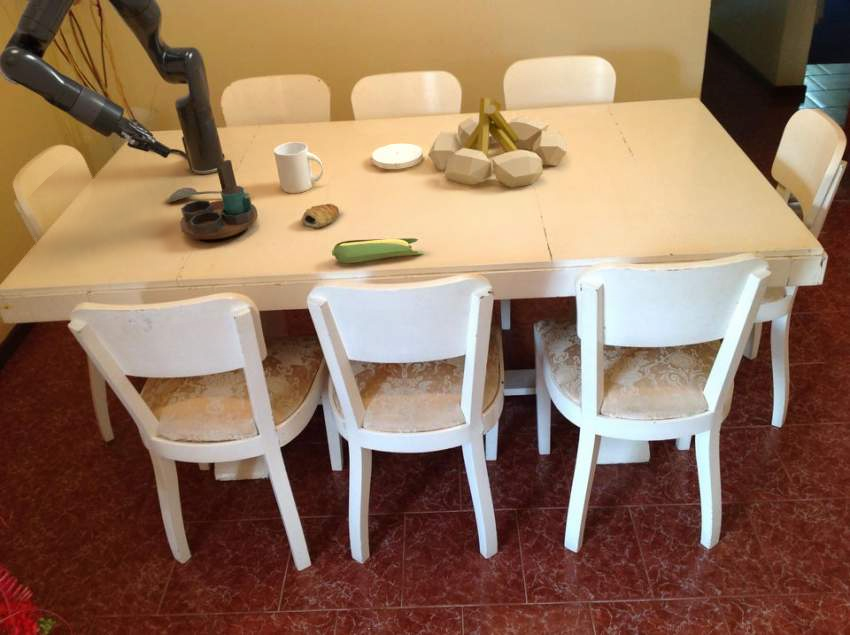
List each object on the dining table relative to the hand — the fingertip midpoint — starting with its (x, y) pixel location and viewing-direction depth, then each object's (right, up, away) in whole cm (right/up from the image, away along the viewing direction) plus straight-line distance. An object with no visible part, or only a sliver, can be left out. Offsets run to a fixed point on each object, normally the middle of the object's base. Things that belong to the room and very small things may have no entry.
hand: (168, 153), depth 169 cm
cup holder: (+11, -15, +6) cm, 19 cm away
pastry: (+34, -15, +7) cm, 38 cm away
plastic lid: (+52, +5, +33) cm, 62 cm away
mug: (+27, -4, +24) cm, 36 cm away
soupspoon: (+2, +25, -3) cm, 25 cm away
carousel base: (+11, -17, +7) cm, 21 cm away
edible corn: (+50, -25, -10) cm, 56 cm away
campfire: (+79, +3, +27) cm, 84 cm away
